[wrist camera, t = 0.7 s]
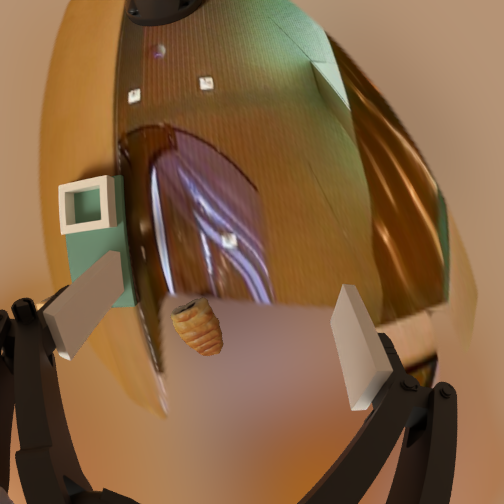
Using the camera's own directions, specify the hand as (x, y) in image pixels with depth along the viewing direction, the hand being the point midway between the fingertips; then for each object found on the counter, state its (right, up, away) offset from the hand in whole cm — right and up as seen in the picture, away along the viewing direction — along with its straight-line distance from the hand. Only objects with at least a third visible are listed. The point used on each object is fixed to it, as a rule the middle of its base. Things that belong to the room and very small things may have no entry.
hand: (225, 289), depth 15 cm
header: (-23, +9, +21) cm, 32 cm away
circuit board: (-23, +3, +23) cm, 32 cm away
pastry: (-7, -9, +26) cm, 29 cm away
